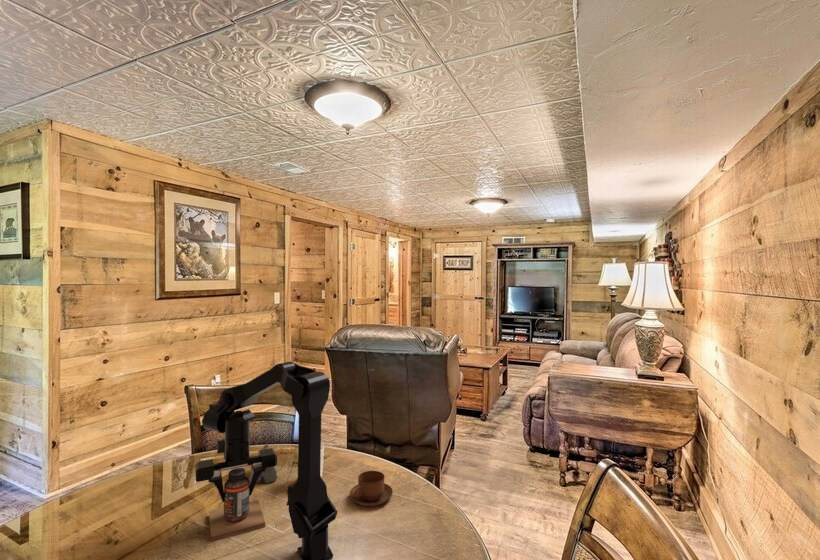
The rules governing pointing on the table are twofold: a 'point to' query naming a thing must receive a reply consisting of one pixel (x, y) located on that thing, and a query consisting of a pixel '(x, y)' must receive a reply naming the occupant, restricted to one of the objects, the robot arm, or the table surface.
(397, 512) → the table surface
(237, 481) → the supplement bottle
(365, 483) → the cup and saucer
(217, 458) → the table surface
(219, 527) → the walnut base
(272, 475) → the mineral rock
